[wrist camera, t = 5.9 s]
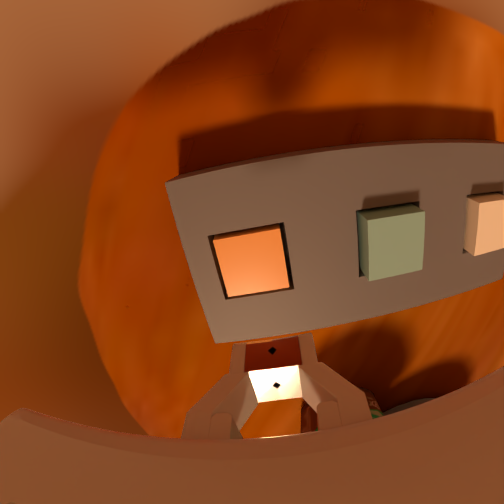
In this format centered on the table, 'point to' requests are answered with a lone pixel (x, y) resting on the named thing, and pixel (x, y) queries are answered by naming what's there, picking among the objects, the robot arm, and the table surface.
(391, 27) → the table surface
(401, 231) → the olive green button
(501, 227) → the cream button
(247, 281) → the orange button
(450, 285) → the button board
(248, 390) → the robot arm
